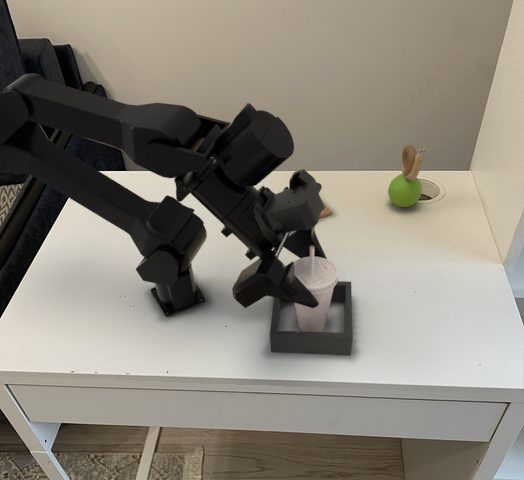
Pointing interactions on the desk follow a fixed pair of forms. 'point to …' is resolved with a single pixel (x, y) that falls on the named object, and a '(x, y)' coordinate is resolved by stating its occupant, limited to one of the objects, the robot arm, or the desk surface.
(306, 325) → the smoothie
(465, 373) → the desk surface
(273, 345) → the dark grey square frame
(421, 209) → the desk surface
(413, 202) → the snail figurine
